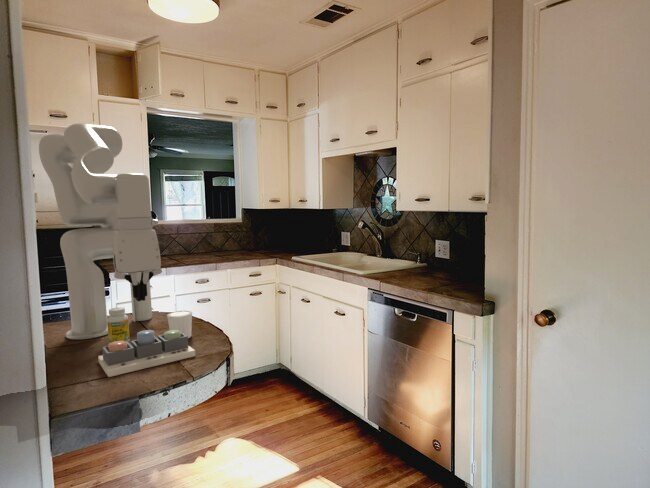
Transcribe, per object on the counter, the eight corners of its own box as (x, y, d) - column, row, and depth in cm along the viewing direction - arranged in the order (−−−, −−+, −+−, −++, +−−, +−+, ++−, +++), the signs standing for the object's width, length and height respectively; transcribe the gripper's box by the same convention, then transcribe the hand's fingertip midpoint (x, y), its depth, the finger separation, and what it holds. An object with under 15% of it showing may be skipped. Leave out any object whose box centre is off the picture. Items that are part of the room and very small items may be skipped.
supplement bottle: (128, 338, 125) (125, 305, 124) (131, 342, 120) (129, 309, 119) (107, 341, 122) (105, 308, 121) (110, 346, 117) (107, 312, 116)
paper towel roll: (146, 315, 149) (142, 254, 147) (155, 318, 145) (151, 255, 143) (126, 320, 143) (121, 257, 141) (135, 323, 140) (130, 258, 137)
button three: (162, 345, 112) (162, 332, 111) (178, 341, 114) (177, 328, 114) (167, 349, 108) (166, 335, 108) (183, 345, 111) (182, 332, 110)
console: (98, 361, 106) (97, 344, 106) (179, 344, 118) (178, 328, 118) (108, 377, 97) (106, 357, 96) (195, 356, 109) (194, 338, 108)
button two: (136, 345, 108) (135, 332, 107) (152, 342, 110) (151, 329, 110) (140, 350, 104) (139, 336, 104) (157, 346, 107) (156, 332, 106)
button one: (107, 357, 104) (106, 343, 103) (125, 353, 106) (124, 339, 106) (111, 361, 101) (110, 347, 100) (129, 357, 103) (128, 343, 103)
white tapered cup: (197, 333, 128) (195, 310, 127) (187, 341, 121) (186, 316, 120) (175, 333, 128) (173, 310, 128) (164, 340, 121) (162, 316, 121)
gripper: (162, 223, 111) (167, 293, 113) (97, 226, 102) (104, 302, 104) (171, 224, 105) (176, 297, 107) (103, 227, 96) (109, 308, 98)
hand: (140, 299), depth 105 cm, fingers closed
